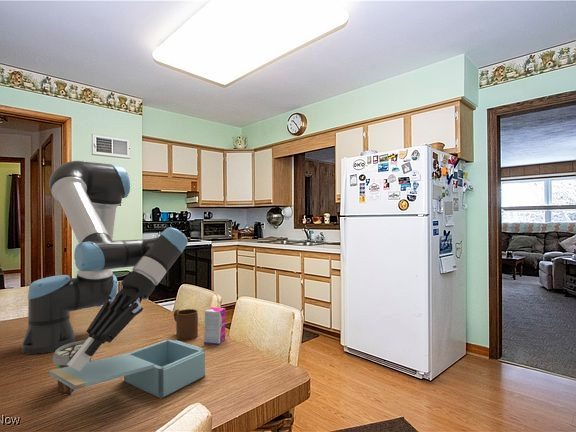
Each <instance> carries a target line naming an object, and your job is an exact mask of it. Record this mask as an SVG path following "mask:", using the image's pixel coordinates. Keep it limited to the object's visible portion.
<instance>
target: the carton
mask: <svg viewBox="0 0 576 432" xmlns="http://www.w3.org/2000/svg"><path fill="white" fill-rule="evenodd" d="M127 354H130V355H132V356H135V357H137V358H140V359H142V360H145V361H148V362H150V363H153V364H155V365H154V368H151V369H148V370H144V371H140V372H137V373H133V374H130V375H126V376H123V381H124V382H125V383H127V384H129V385H131V386H134V387H136V388H138V389H140V390H142V391H144V392H146V393H149V394H151V395H152V396H155V397H157V398H159V399H162V398H163V399H164V397H167V396H169V395H171V394H172V393H175V392H176V391H178V390H180V389H182V388H184V387H186V386H188V385H190V384H192V383H194V382H195V381H198V380H200V379H201V378H203V377H205V376H206V350H204V349H203V348H202V347H200V346H197V345H192V344H190V343H187V342H183V341H181V340H178V339H175V340H172V339H169V338H168V339H164V340H162V341H161V340H160V341H158V342H156V343H153V344H150V345H148V346H145V347H142V348H139V349H136V350H133V351H131V352H129V353H127Z"/></svg>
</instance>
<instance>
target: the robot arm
mask: <svg viewBox="0 0 576 432" xmlns="http://www.w3.org/2000/svg"><path fill="white" fill-rule="evenodd" d="M48 181H49V182H48V186H49V190H50V193H51V195H52V197H53V198H54V199H55V200H56V201H57V202H59V203H60V205H61V207H62V208H61V209H63V212H64V214H65V217H66V218H67V221H68V223H69V226H70V227H71V229H72V232H73V233H74V236H75V238H76V240H77V242H78V244H76V246H75V249H74V253H73V254H74V255H73V257H74V264H75V267H76V268H77V269H78V270H77V272H76V277H73V278H71V277H70V275H68V274H60V275H59V274H58V275H53V276H47V277H44V278H39V279H37V280H34V281H33V282H32V283H30V284H29V286H28V294H27V299H28V302H27V303H28V304H27V306H28V307H27V308H28V309H27V310H28V311H27V312H28V315H27V317H28V318H27V319H28V322H27V323H28V324H27V329H26V332H25V334H24V337H23V339H22V342H21V348H20V349H21V350H22V351H21V352H22V353H23V352H24V353H23V354H26V353H29V355H38V354H37V353H41V354H48V353H52V352H55V351H56V350H57V349H58V348H60V347H62V346H64V345H66V344H69V343H73V342H76V333H75V331H74V327H73V325H72V323H71V319H70V315H71V314H70V312H73V311H74V312H75V311H80V310H85V309H92V308H99V307H100V309H99V311H98V312H97V314H96V315H95V317H94V319H93V320H92V321H91V323H90V325H89V326H88V328H87V329H86V333H87V334H88V335H87V336H88V337H87V339H85V340H86V341H85V342H84V344H83V345H82V346H81V347H80V349H79V350H78V351H77V352H76V354H75V355H74V356H73V357H72V359H71V360H70V361H69V362H68V364H67V365H68V366H70V367H72V368H73V369H75V370H77V371H79V372H80V371H81V370H82V368H83V367H84V366H85V364H86V363H87V362H88V360H89V359H90V358H91V359H92V357H93V356H94V354H95V353H96V352H97V350H98V349H100V347H101V346H102V344H105V343H109V344H110V343H111V342H112V341H113V340H114V339H115V338H116V337H118V335H119V334H120V333H121V332H122V331H123V330H124V329H125V328H126V326H128V325H129V323H130V322H131V321H132V320H134V318H136V316H137V315H139V314H140V313H141V312H142V311H143V310H144V307H143V306H141V303H142V301H143V300H146V299H149V297H150V296H151V295H152V293H153V291H154V290H155V289H156V286H158V285H159V283H160V282H161V281H162V279H164V276H165V275H166V274H167V273H168V272H169V270H170V269H171V267H172V266H173V265H174V263H175V262H176V261H177V260H178V259H179V257H180V255H182V254H183V252H184V250H185V249H186V247H187V245H188V243H189V242H188V238H187V236H186V235H185V234H184V233H183V232H182V231H181V230H179V229H177V228H175V227H170V226H169V227H167V228H165V229H164V230H163V231H162V232H160V235H159V236H157V237H153V238H145V239H142V238H141V239H127V240H126V239H125V240H124V239H123V240H113V237H114V236H113V235H114V228H115V220H116V215H117V214H116V211H117V207H119V206H121V205H122V202H123V201H122V199H126V198H128V196H129V194H130V192H131V180H130V175H129V174H128V172H127V170H126V169H125V168H124V167H123V166H120V165H115V164H111V163H101V162H94V161H93V162H91V161H90V162H89V161H84V160H71V161H68V162H64V163H62V164H61V165H59V166H58V167H57V168H55V170H54V171H53V172H52V173H51V176H50V178H49V180H48ZM130 267H131V268H132V271H130V272H128V274H127V275H126V276H125V277H124V278H123V279H122V281H121V285H122V286H121V287H122V289H120V291H118V288H119V287H118V278H117V277H116V275H115V274H113V273H114V272H113V269H114V270H115V269H120V268H130ZM47 352H48V353H47Z"/></svg>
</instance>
